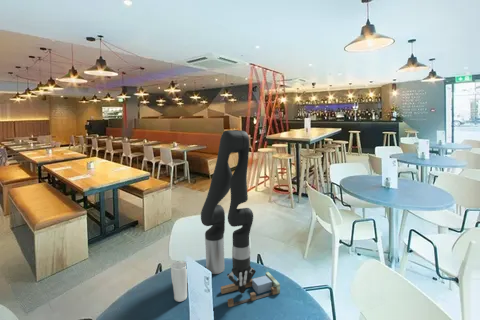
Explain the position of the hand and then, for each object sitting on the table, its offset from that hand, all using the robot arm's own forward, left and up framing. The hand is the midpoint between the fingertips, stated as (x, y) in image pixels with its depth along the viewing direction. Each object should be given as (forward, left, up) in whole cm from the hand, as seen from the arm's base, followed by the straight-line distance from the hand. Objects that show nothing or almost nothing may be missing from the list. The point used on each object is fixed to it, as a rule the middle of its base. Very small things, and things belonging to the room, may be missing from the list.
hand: (241, 292), depth 114 cm
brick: (0, +10, -1) cm, 10 cm away
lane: (0, +3, -1) cm, 3 cm away
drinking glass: (-8, -25, -1) cm, 26 cm away
